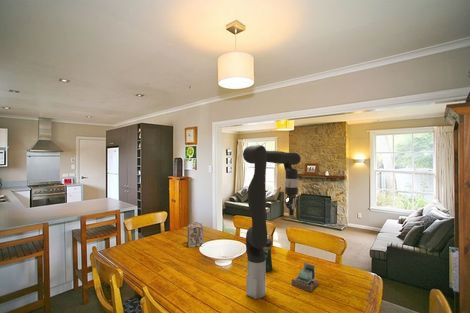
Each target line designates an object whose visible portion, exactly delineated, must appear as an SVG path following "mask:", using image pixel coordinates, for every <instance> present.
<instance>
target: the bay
mask: <svg viewBox="0 0 470 313" xmlns="http://www.w3.org/2000/svg"><path fill="white" fill-rule="evenodd" d="M298 279H299V275H297V276H296V277H295V278H292V279H291V286H293V287H295V288H298V289H300V290H302V291H305V292H309V293H312V291H314V289H315V288H316V287H317V286H318V285H319V280H318V279H315V280H314V282H313V283H311V284H310V285H308V284H305V283H302V282H300V281H297V280H298Z"/></svg>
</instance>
